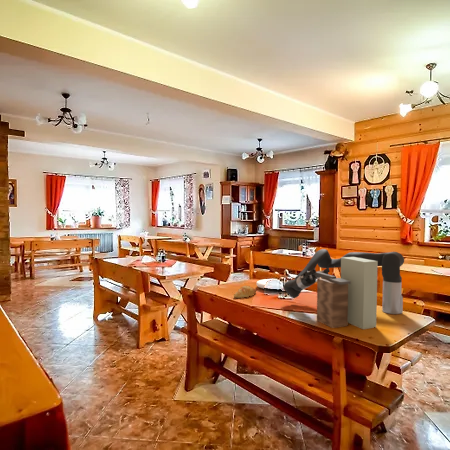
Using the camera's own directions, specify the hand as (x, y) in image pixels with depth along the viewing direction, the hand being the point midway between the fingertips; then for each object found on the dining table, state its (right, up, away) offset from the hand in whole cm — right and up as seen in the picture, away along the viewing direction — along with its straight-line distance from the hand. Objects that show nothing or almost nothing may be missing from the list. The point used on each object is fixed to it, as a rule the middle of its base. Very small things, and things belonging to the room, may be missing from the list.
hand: (321, 270), depth 172 cm
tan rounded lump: (-37, -24, +46) cm, 64 cm away
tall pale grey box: (+16, -25, -7) cm, 31 cm away
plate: (-14, -23, +68) cm, 73 cm away
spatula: (+2, -4, -6) cm, 7 cm away
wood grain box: (+3, -25, -7) cm, 27 cm away
